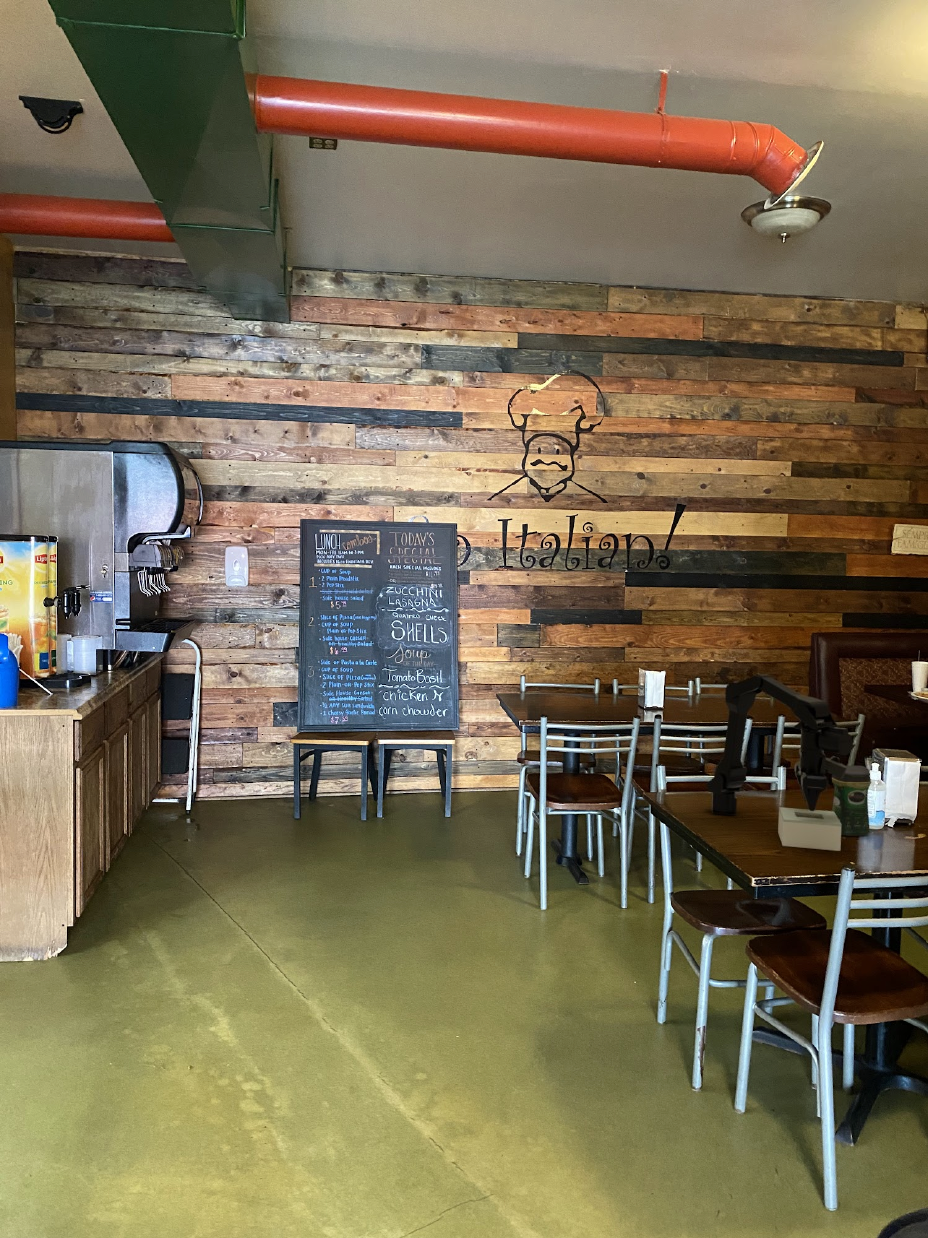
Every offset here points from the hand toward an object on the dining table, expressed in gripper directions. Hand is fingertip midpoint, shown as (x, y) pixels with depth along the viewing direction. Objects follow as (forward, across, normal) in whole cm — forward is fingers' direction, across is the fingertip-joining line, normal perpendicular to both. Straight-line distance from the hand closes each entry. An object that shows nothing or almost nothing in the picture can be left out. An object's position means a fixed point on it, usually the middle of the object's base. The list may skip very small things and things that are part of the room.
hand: (809, 806), depth 231 cm
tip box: (+10, 0, 0) cm, 10 cm away
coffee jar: (+10, +12, -12) cm, 20 cm away
